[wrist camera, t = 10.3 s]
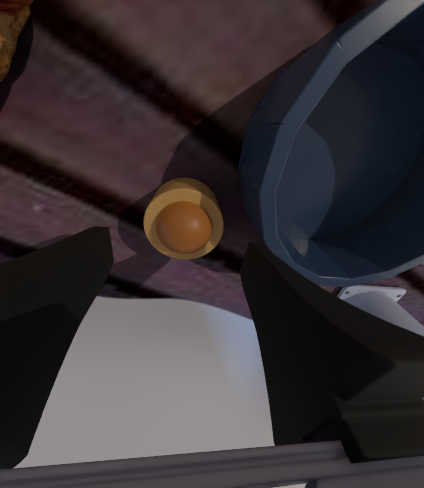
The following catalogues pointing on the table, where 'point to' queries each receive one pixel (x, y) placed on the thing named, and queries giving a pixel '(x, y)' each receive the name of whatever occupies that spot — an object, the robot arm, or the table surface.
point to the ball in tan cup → (184, 219)
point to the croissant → (11, 29)
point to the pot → (344, 151)
